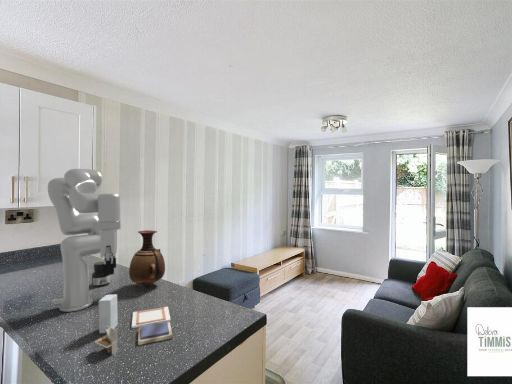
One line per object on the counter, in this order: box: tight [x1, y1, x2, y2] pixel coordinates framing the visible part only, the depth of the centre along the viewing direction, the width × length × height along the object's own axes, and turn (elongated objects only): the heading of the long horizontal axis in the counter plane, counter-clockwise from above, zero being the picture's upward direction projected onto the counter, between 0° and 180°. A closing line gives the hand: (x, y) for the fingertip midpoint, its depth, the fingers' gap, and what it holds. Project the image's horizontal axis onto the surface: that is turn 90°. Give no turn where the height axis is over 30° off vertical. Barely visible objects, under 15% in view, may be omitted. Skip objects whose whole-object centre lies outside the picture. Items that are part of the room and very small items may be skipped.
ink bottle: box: [91, 261, 111, 288], centre depth 150 cm, size 10×9×12 cm
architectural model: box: [94, 326, 118, 356], centre depth 87 cm, size 3×7×7 cm, turn 60°
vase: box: [128, 229, 166, 288], centre depth 147 cm, size 21×18×30 cm
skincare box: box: [98, 293, 119, 334], centre depth 101 cm, size 6×4×12 cm
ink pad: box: [137, 322, 173, 346], centre depth 97 cm, size 11×10×2 cm
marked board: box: [131, 306, 171, 329], centre depth 110 cm, size 14×13×1 cm
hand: (110, 271), depth 102 cm, fingers open, 9 cm apart
